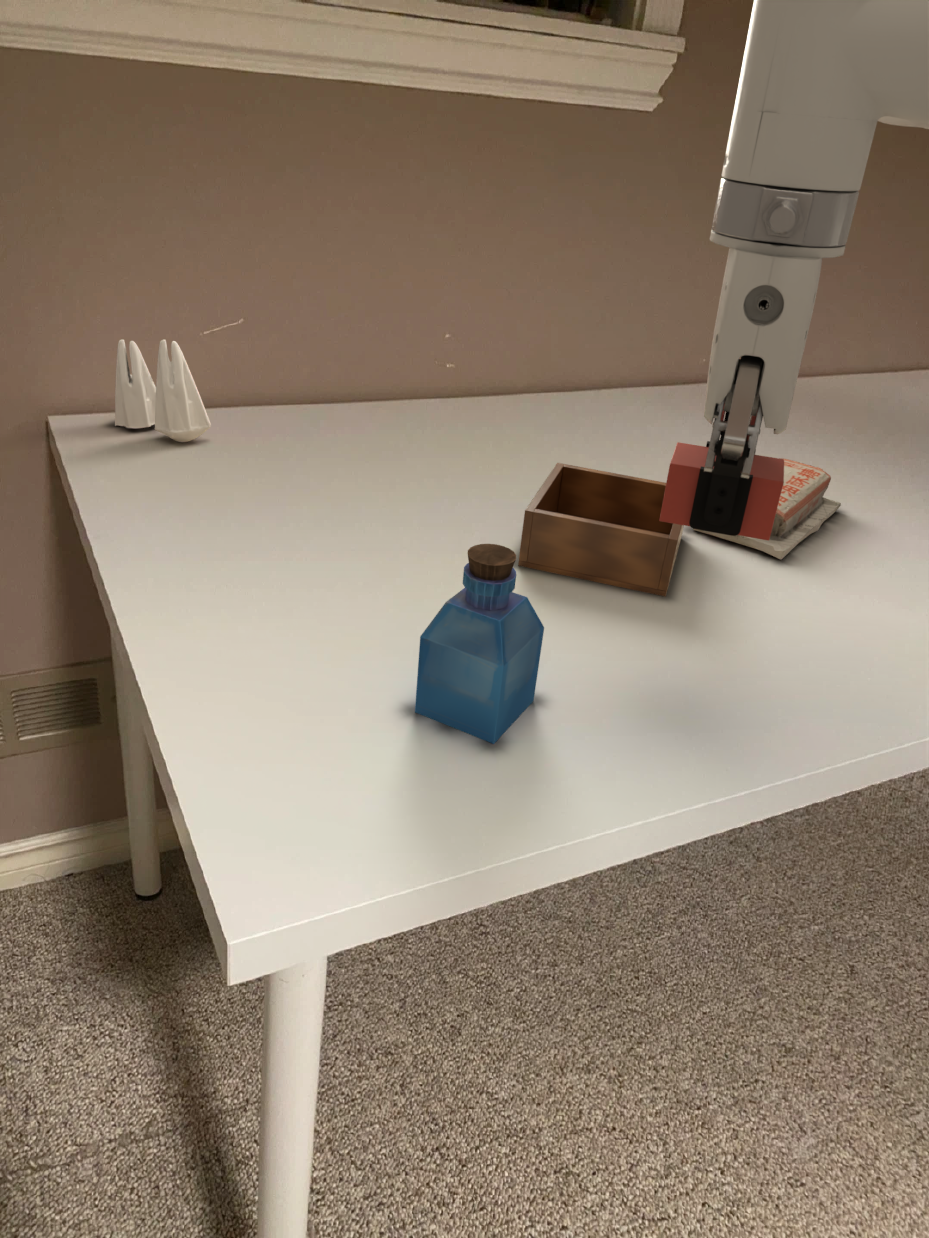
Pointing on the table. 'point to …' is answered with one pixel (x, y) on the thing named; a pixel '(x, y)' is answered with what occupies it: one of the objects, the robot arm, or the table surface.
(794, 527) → the packaged product
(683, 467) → the block
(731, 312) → the robot arm
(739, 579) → the table surface
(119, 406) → the shaker set
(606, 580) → the holder
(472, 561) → the perfume bottle
